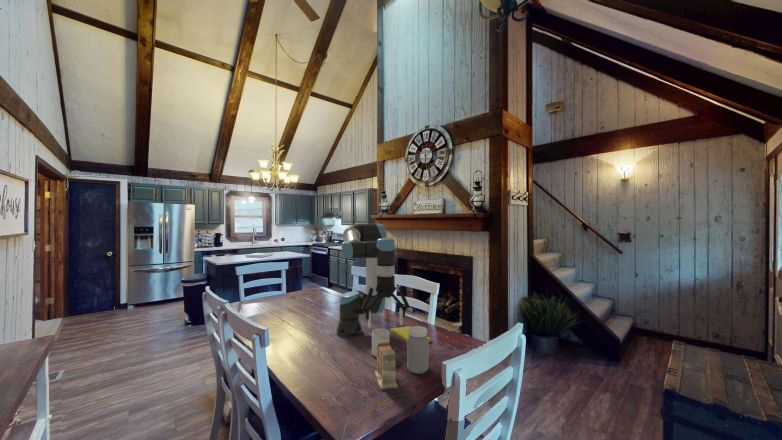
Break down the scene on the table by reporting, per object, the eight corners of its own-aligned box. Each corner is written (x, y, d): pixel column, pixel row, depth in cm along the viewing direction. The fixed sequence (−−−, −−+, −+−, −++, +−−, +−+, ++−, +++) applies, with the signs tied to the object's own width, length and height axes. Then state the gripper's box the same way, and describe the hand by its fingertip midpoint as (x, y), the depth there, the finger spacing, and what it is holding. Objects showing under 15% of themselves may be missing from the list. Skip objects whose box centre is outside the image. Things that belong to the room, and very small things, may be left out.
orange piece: (380, 373, 120) (380, 351, 120) (378, 368, 124) (378, 347, 124) (392, 371, 121) (392, 349, 121) (390, 366, 125) (390, 345, 125)
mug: (387, 359, 140) (387, 336, 140) (369, 358, 141) (369, 335, 141) (391, 348, 152) (391, 327, 152) (374, 347, 153) (375, 326, 153)
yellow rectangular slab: (431, 342, 160) (407, 328, 181) (431, 338, 160) (407, 324, 181) (413, 347, 154) (390, 332, 175) (413, 343, 154) (390, 328, 175)
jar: (412, 361, 138) (413, 323, 138) (432, 367, 133) (432, 327, 133) (403, 371, 129) (403, 330, 129) (423, 377, 124) (423, 335, 124)
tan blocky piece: (374, 371, 128) (374, 340, 128) (389, 370, 130) (389, 339, 130) (380, 390, 115) (380, 355, 115) (397, 387, 116) (398, 353, 116)
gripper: (357, 278, 116) (356, 331, 116) (416, 275, 122) (416, 326, 122) (354, 274, 123) (354, 324, 123) (411, 272, 129) (411, 320, 129)
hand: (385, 325), depth 122 cm, fingers open, 13 cm apart
